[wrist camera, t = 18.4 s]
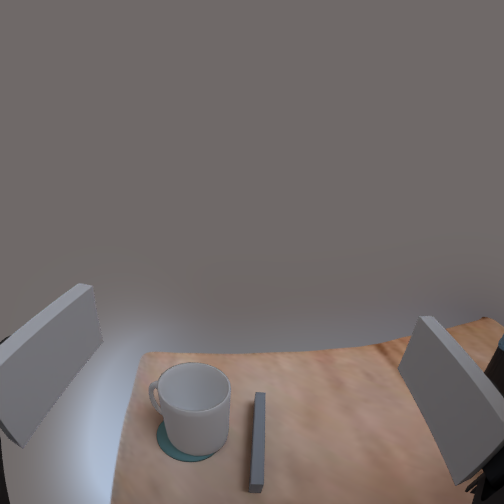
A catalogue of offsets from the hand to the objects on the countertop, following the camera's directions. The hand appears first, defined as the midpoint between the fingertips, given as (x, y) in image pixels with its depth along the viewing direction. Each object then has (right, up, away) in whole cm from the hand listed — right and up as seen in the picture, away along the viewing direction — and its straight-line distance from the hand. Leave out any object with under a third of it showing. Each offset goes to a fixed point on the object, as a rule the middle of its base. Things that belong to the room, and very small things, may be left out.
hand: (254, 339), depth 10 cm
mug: (-10, -25, +25) cm, 36 cm away
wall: (+1, -26, +24) cm, 36 cm away
